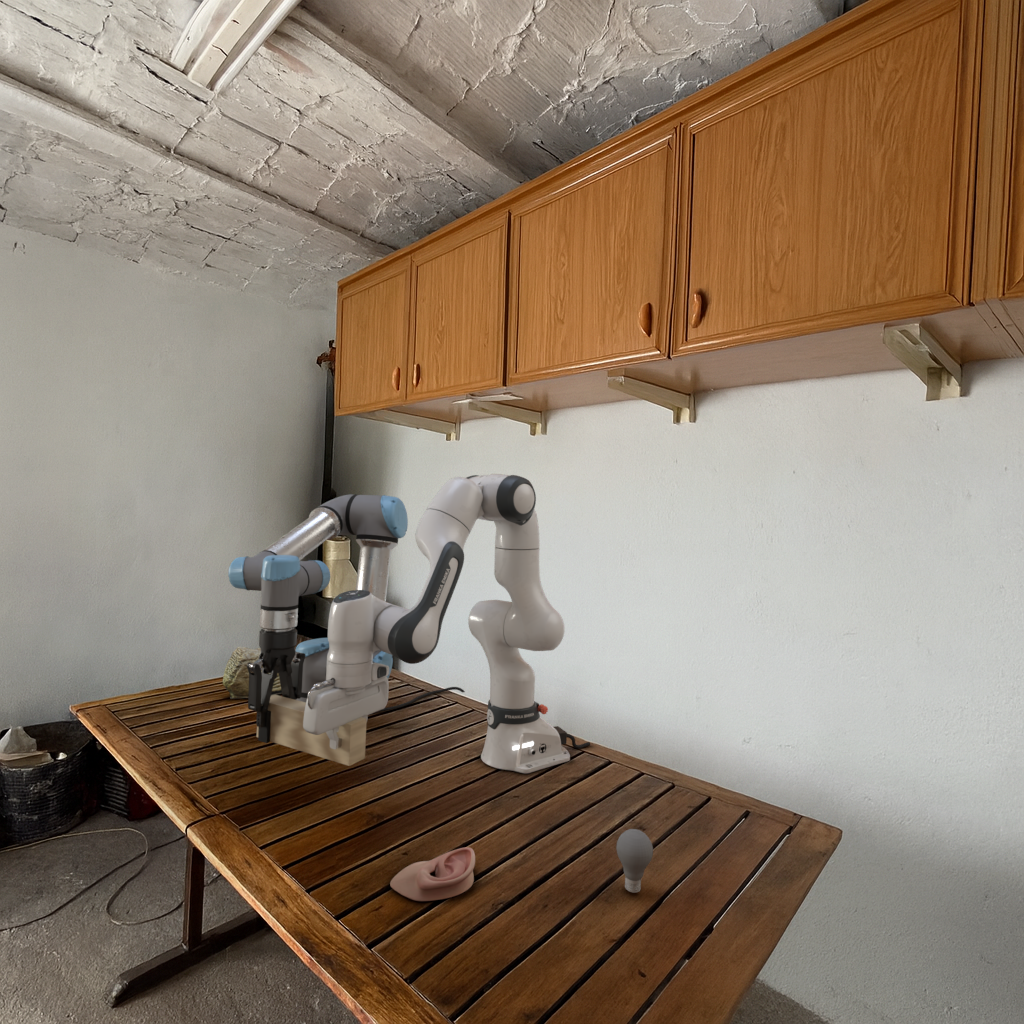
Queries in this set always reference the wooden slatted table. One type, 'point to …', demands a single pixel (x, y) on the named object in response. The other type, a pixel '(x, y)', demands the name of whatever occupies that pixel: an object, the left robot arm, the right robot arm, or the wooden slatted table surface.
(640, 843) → the light bulb
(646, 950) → the wooden slatted table surface
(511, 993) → the wooden slatted table surface
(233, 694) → the fossil
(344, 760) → the ash beam
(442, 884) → the anatomical model
